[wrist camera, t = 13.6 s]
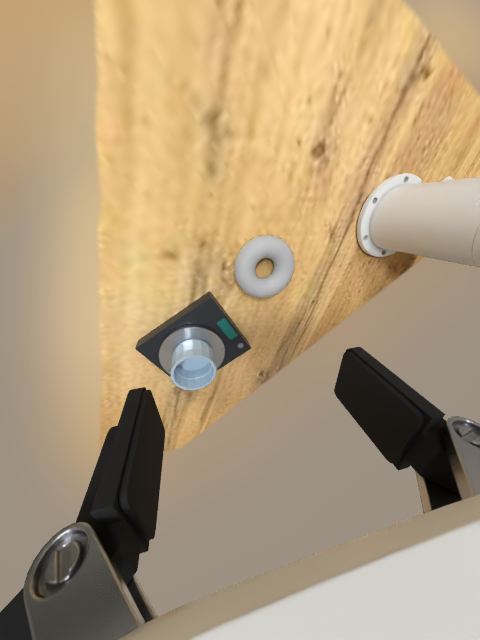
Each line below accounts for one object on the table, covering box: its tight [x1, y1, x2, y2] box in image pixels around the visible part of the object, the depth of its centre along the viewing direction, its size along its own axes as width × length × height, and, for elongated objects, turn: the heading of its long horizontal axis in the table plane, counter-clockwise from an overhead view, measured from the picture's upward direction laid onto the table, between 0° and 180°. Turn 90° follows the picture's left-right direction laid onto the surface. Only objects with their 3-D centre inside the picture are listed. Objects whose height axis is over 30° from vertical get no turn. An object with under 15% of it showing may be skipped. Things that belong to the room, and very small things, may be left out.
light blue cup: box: [171, 340, 217, 390], centre depth 33 cm, size 7×7×4 cm
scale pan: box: [159, 325, 225, 375], centre depth 35 cm, size 11×11×1 cm
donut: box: [234, 235, 295, 298], centre depth 33 cm, size 10×4×10 cm
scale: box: [135, 292, 251, 377], centre depth 37 cm, size 15×13×3 cm
